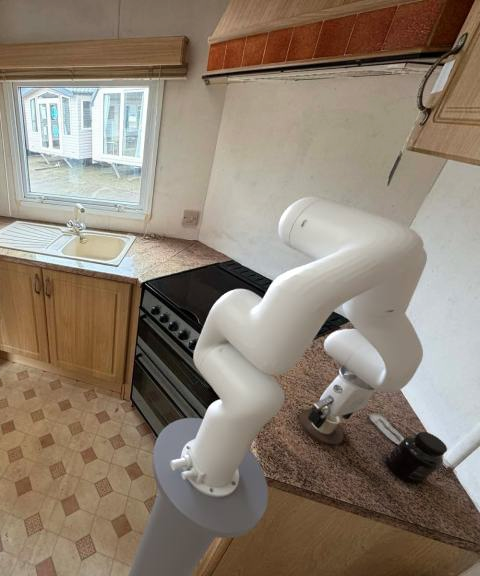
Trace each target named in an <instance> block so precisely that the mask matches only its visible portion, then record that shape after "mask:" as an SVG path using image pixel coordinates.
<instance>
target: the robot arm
mask: <svg viewBox="0 0 480 576" xmlns="http://www.w3.org/2000/svg"><path fill="white" fill-rule="evenodd" d="M277 230H278V236H279V238H280V240H281V242H282V243H283V244H284V245H285V246H286V247H289V248H290V249H292V250H293V251H297V252H299V253H300V254H302V255H304V256H306V257H308V258H310V259H313V260H314V261H312V262H309V263H306V264H303V265H301V266H298V267H295V268H292V269H290V270H287V271H285V272H284V273H282V274H280V275H279V276H277V277H276V278H274V280H273V281H272V282H271V284H269V287H268V289H267V290H266V292H265V294H264V296H263V297H262V296H260V295H259V294H256V293H255V292H254V291H252V290H249V289H245V288H235V289H233V290H231V289H230V290H229V291H227V292H226V293H224V294H222V295H221V296H220V297H219V298H218V299H217V300H216V301H215V302H214V304H213V305H212V307H211V309H210V310H209V312H208V314H207V317H206V320H205V322H204V325H203V327H202V329H201V332H200V335H199V337H198V340H197V341H196V345H195V348H194V350H193V356H192V357H193V364H194V366H195V368H196V369H197V371H198V372H199V373H200V374H201V375H202V377H203V378H204V380H205V381H206V382H207V383H208V384H209V386H211V388H212V389H213V391H214V392H215V393H216V395H217V397H218V398H219V399H217V400H215V401H213V402H212V403H210V405H209V406H208V408H207V410H206V411H205V414H204V416H203V418H202V419H203V421H202V424H201V426H200V429H199V431H198V433H197V436H196V438H195V439H194V440H191V441H189V442H188V443H187V444H186V445H185V447H184V448H183V451H182V454H181V459H176V460H172V461H170V465H171V468H172V469H173V470H174V471H175V470H178V469H181V468H182V469H183V472H182V473H181V475H182V478H183V479H184V480H185V479H188V480H189V482H190V483H191V484H192V485H193V486H194V487H195V488H196V489H198V490H199V491H200V492H202V493H204V494H206V495H209V496H212V497H218V498H219V497H225V496H228V495H230V494H231V493H233V491H234V490H235V489H236V487H237V485H238V482H239V470H238V467H239V465H240V463H241V462H242V460H243V458H244V457H245V455H246V453H247V451H248V450H249V449H251V446H252V445H253V443H254V442H255V439H256V438H257V436H258V435H259V434H260V432H261V431H262V430H263V428H264V427H265V426H266V425H267V423H269V422H270V421H271V420H272V419H274V417H276V415H277V414H278V413H279V412H281V410H282V408H283V407H284V404H285V401H286V399H285V398H286V396H285V392H284V390H283V388H282V386H281V384H280V383H279V382H278V381H277V380H276V378H275V377H274V376H282V375H285V374H287V373H289V372H290V371H292V370H293V368H295V366H297V364H298V363H299V362H300V361H301V359H302V358H303V356H304V354H305V353H306V352H307V350H308V348H309V347H310V346H311V344H312V343H313V341H314V339H315V337H316V336H317V335H318V333H319V331H320V330H321V328H322V326H324V324H325V323H326V321H327V320H328V319H329V317H330V316H331V315H332V313H334V311H336V310H337V309H338V308H339V307H340V306H342V311H343V313H344V315H345V317H346V319H347V320H348V321H349V322H350V323H351V325H352V326H353V327H354V328H344V329H339V330H335V331H333V332H331V333H330V334H329V335H328V336H327V337H326V338H325V340H324V342H323V348H324V351H325V352H326V353H327V355H329V356H330V358H332V359H333V360H334V361H336V362H337V363H339V365H341V366H340V367H339V370H338V372H339V374H338V375H337V376H336V378H334V379H333V381H332V382H331V383H330V384H329V385H328V387H327V388H326V389H325V390H324V391H323V393H322V395H320V396H321V397H320V399H319V401H317V402H316V403H314V404H313V405H312V409H311V410H313V411H312V412H311V414H310V415H309V416H308V419H309V420H310V421H311V422H312V423H313V424H314V425H315V426H316V427H317V428H320V427H321V426H322V424H323V423H324V422H325V420H326V418H325V417H327V416H328V415H329V414H331V413H332V414H333V415H334V416H339V417H342V418H343V419H344V420H348V419H350V418H351V416H352V415H353V414H354V413H356V412H357V411H361V410H362V409H364V408H365V407H366V405H367V403H368V402H369V401H370V399H371V398H372V397H373V395H374V394H375V392H376V391H378V392H380V393H384V394H390V393H396V392H399V391H400V390H402V389H404V387H406V386H407V385H408V384H409V382H411V380H412V379H413V377H414V376H415V374H416V372H417V371H418V369H419V367H420V366H421V364H422V361H423V358H424V350H423V345H422V342H421V340H420V338H419V335H418V333H417V331H416V329H415V327H414V325H413V323H412V322H411V320H410V319H409V317H408V316H407V314H406V312H407V311H408V308H409V306H410V303H411V301H412V298H413V296H414V294H415V291H416V289H417V287H418V285H419V282H420V279H421V277H422V275H423V272H424V270H425V268H426V264H427V260H428V253H427V252H426V249H425V248H424V247H425V245H424V241H423V238H422V237H421V236H420V235H419V233H418V232H416V231H415V230H413V228H411V227H409V226H407V225H405V224H402V223H401V222H398V221H396V220H394V219H391V218H388V217H385V216H383V215H380V214H377V213H374V212H370V211H367V210H365V209H360V208H356V207H354V206H350V205H347V204H344V203H341V202H337V201H335V200H332V199H328V198H325V197H321V196H314V195H312V196H305V197H303V198H300V199H298V200H296V201H295V202H293V203H291V204H290V205H289V206H288V207H287V208H286V209H285V211H284V212H283V214H282V215H281V216H280V220H279V222H278V229H277ZM329 405H330V406H329ZM324 407H325V408H327V409H328V411H326V412H325V413H323V412H322V411H321V410H322V408H324Z"/></svg>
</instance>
